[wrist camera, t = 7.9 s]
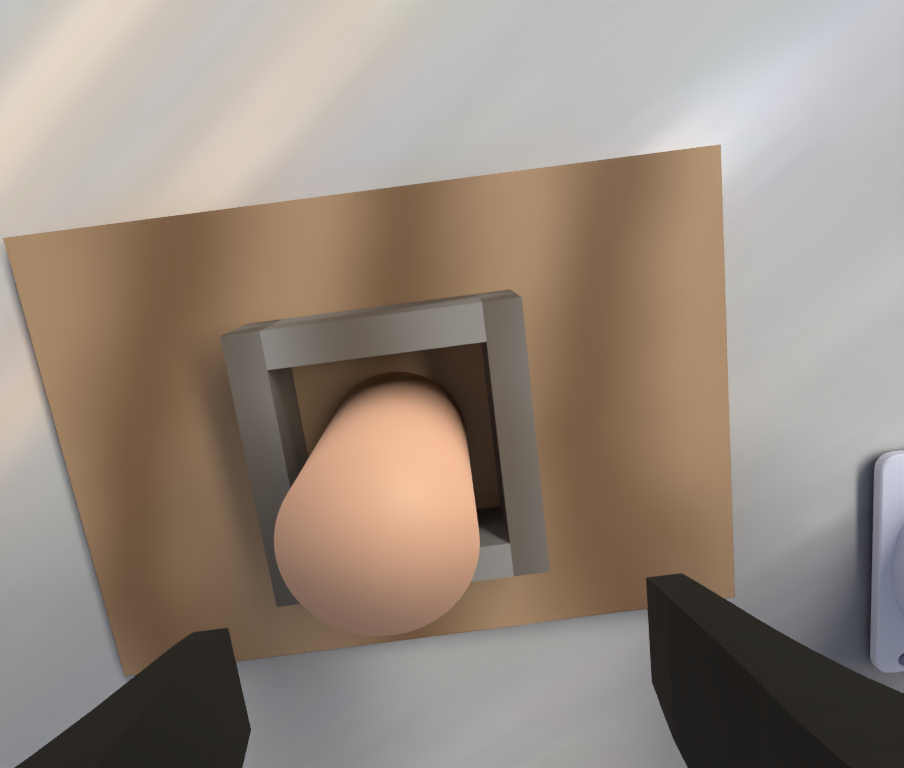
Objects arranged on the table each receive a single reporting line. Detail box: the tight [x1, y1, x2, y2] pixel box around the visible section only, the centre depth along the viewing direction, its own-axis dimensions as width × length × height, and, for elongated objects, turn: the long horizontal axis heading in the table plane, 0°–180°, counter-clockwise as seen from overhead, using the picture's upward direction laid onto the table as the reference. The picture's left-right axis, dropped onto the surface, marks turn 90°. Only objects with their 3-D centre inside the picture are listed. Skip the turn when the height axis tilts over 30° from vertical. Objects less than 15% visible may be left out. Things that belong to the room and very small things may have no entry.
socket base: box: [3, 145, 735, 676], centre depth 19 cm, size 20×14×4 cm
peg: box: [274, 371, 480, 636], centre depth 16 cm, size 4×4×7 cm
